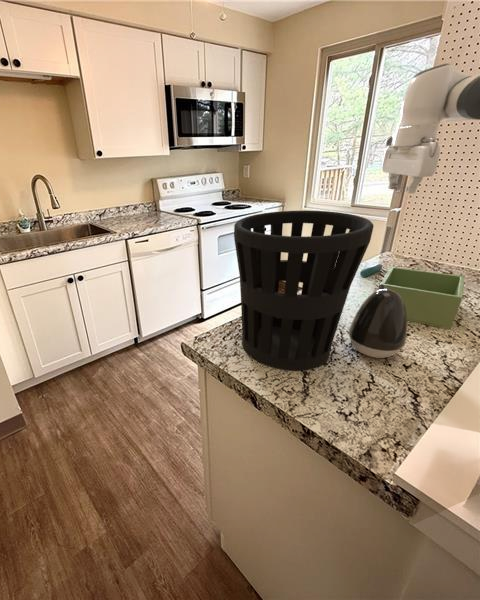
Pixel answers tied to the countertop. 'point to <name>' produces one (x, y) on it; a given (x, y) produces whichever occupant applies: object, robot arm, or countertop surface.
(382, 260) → the countertop surface
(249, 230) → the wastebasket
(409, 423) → the countertop surface
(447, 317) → the bin
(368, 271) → the teal rounded rod
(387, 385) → the countertop surface
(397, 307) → the dark brown egg shape
